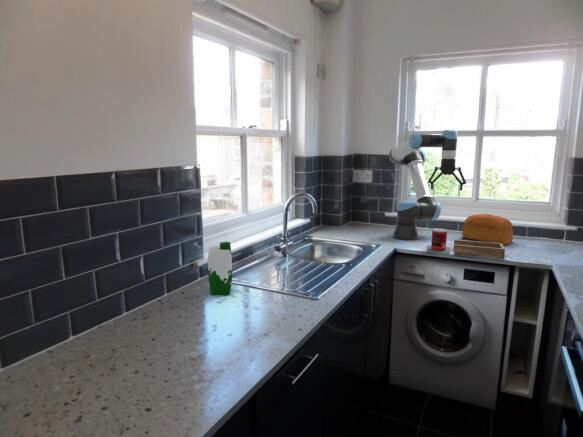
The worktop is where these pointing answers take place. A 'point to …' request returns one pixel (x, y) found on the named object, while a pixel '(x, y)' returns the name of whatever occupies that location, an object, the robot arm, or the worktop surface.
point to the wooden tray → (479, 249)
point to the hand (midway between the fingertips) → (445, 195)
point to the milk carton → (220, 269)
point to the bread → (488, 229)
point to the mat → (446, 251)
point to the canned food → (439, 239)
